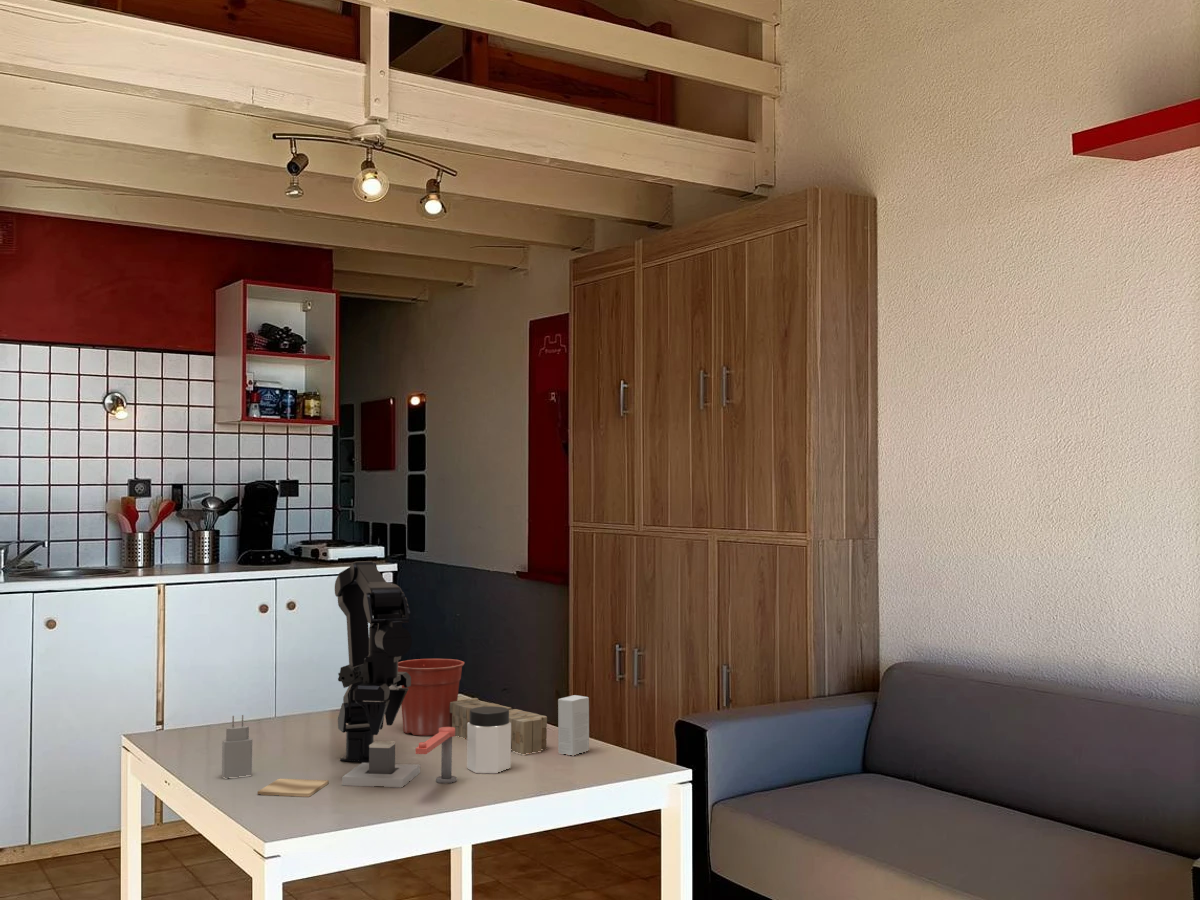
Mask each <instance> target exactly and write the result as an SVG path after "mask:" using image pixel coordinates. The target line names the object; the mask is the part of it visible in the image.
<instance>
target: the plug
mask: <svg viewBox="0 0 1200 900" xmlns="http://www.w3.org/2000/svg"><path fill="white" fill-rule="evenodd" d="M368 763H369V774H392V773H394V772H395V764H396V741H395V740H375V741H374V742H373V743H372V744H370V745H369V762H368Z"/></svg>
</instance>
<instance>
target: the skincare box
mask: <svg viewBox="0 0 1200 900" xmlns="http://www.w3.org/2000/svg"><path fill="white" fill-rule="evenodd" d="M589 699H590V697H588V696H583V695H577V694H574V695H569V696H565V697H561V698H558V699H557V705H558V707H557V709H558V710H557V713H558V714H557V715H558V716H557V717H558V718H557V719H558V720H557V721H558V722H557V723H558V725H557V726H558V727H557V728H558V730H557V731H558V732H557V733H558V734H557V738H558V739H557V741H558V742H557V745H558V749H557V751H558V752H557V753H558V754H559V753H561V754H568V755H575V754H579V753H582V752H585V751H588V750H589V751H590V700H589ZM585 753H586V752H585ZM582 754H583V753H582ZM579 755H580V754H579Z"/></svg>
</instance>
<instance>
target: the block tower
mask: <svg viewBox="0 0 1200 900" xmlns="http://www.w3.org/2000/svg"><path fill="white" fill-rule="evenodd" d="M489 706H493V707H504V708H507V709H509V722H510V723H511V749H512V750H511V752H512V751H515V752H518V753H521V754H526V753H532V752H538V751H541V749H546V750H547V745H548V744H547V734H548V733H547V731H548V730H547V729H548V728H547V727H548V726H547V725H548V717H547V716H546V715H542V714H538V713H535V712H530V711H525V710H522V709H517V708H514V709H512V707H511V706H505V705H500V704H498V703H493V702H492V703H491V702H489V701H488V702H487V701H484V700H479V698H477V697H473V698H466V699H460V700H457V701H453V702H450V713H452V727H454V728H455V736H454V737H456V736H459V737H458V738H460V737H463V738H467V723H468V722H469V714H470V710H471V709H473V708H477V707H489ZM463 738H462V739H463ZM541 752H542V751H541Z"/></svg>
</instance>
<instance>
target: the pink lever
mask: <svg viewBox="0 0 1200 900" xmlns="http://www.w3.org/2000/svg"><path fill="white" fill-rule="evenodd" d="M449 737H452V738H453V737H456V736H455V728H454V727H441V728H439V733H437V734H436V735H432V736H431V737H430V738H428V739H427V740H426V741H421V742H418V746H417V747H415V755H427V754H428V753H430V752H432V751H433V750H435V749H436V748H437V747H438V746H440V745H442V743H443V742H444V741H445V740H447V739H448V738H449Z"/></svg>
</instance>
